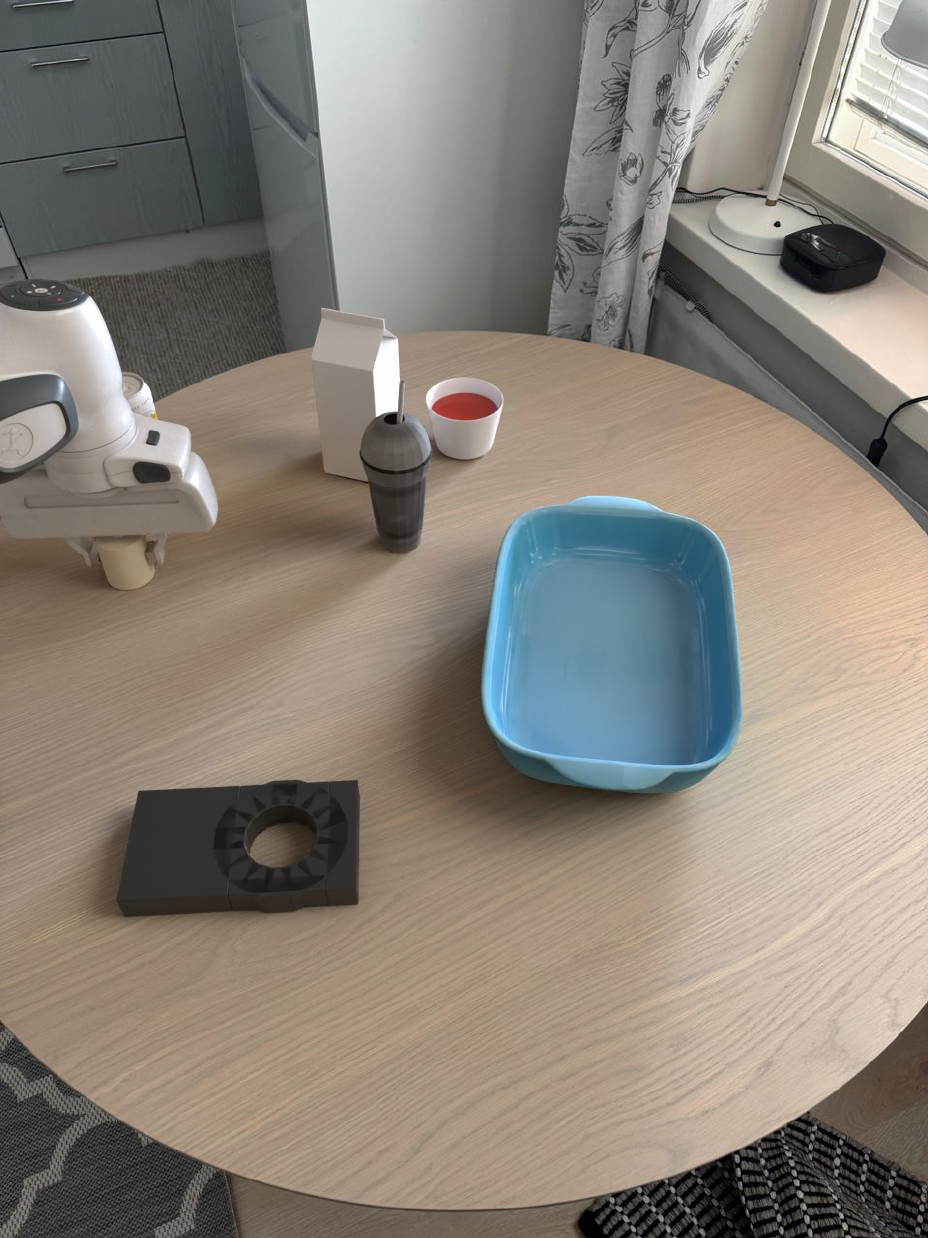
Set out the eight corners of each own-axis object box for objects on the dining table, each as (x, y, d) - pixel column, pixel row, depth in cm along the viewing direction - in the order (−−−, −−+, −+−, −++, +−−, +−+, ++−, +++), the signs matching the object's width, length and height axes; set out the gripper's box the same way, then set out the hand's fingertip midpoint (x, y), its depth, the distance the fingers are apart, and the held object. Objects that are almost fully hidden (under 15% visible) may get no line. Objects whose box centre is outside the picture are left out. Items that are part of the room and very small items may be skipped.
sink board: (123, 921, 76) (115, 905, 74) (145, 804, 84) (138, 787, 82) (358, 908, 77) (356, 892, 75) (360, 793, 85) (357, 776, 83)
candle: (412, 449, 119) (410, 403, 114) (455, 413, 124) (455, 369, 120) (474, 475, 115) (474, 430, 111) (516, 438, 121) (518, 393, 116)
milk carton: (380, 485, 114) (370, 335, 100) (324, 473, 116) (306, 324, 102) (403, 451, 119) (396, 303, 105) (348, 439, 120) (334, 292, 107)
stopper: (103, 591, 102) (85, 539, 97) (112, 559, 105) (95, 508, 100) (151, 589, 102) (135, 537, 97) (158, 557, 105) (143, 506, 100)
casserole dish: (504, 534, 108) (506, 482, 103) (712, 551, 106) (725, 498, 101) (465, 823, 83) (465, 772, 77) (738, 851, 81) (757, 801, 76)
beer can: (149, 525, 109) (115, 409, 98) (110, 506, 111) (73, 390, 100) (188, 496, 112) (160, 381, 102) (150, 478, 115) (118, 363, 104)
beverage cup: (394, 509, 111) (385, 348, 97) (447, 534, 108) (446, 372, 94) (352, 544, 107) (336, 382, 93) (406, 571, 104) (398, 408, 90)
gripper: (-33, 474, 89) (16, 586, 99) (197, 467, 90) (223, 578, 100) (-14, 433, 94) (31, 544, 104) (205, 426, 95) (229, 536, 105)
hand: (127, 560), depth 102 cm, fingers closed on stopper, 5 cm apart
